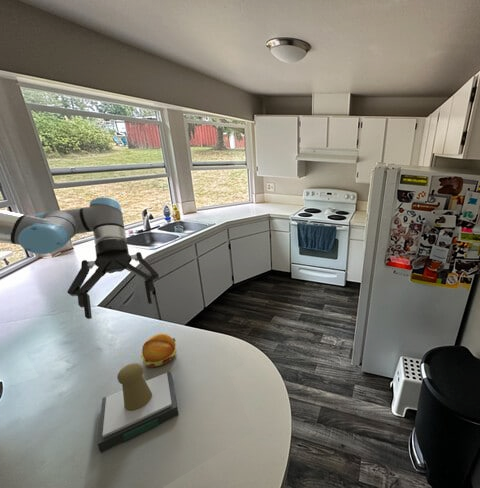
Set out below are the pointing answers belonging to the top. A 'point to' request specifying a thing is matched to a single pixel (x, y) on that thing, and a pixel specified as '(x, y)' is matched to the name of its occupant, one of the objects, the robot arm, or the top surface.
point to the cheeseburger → (158, 350)
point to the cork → (134, 387)
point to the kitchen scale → (136, 413)
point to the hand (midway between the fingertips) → (120, 309)
